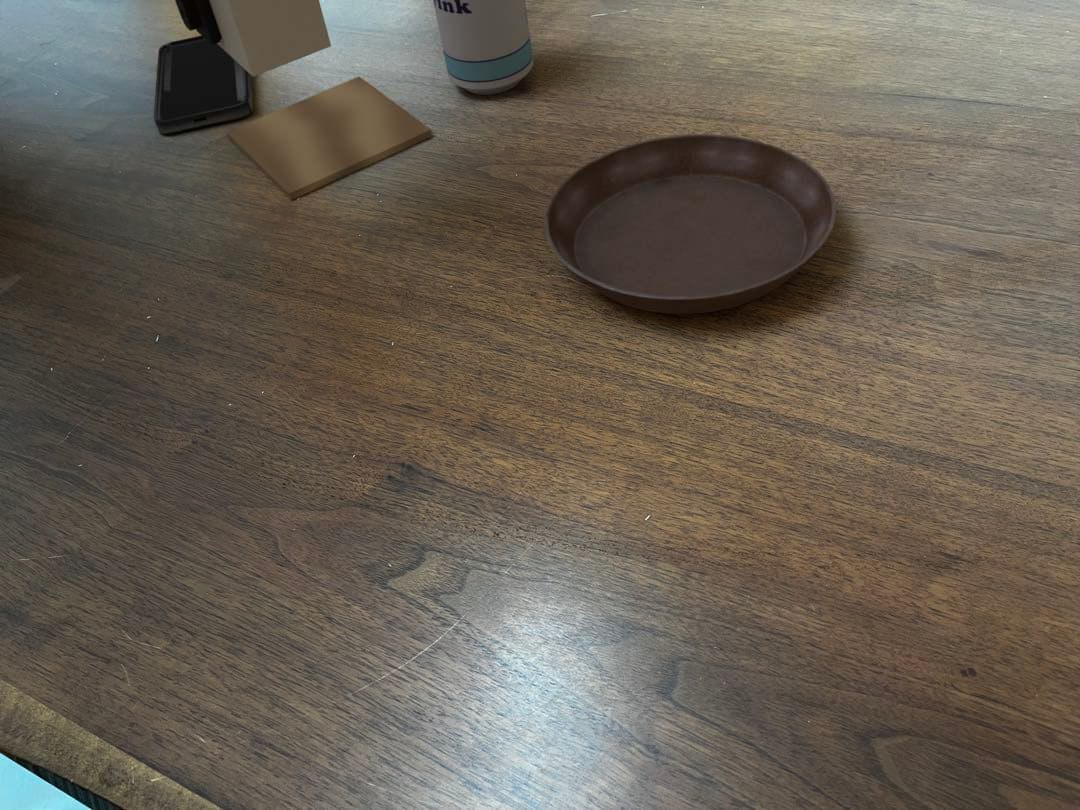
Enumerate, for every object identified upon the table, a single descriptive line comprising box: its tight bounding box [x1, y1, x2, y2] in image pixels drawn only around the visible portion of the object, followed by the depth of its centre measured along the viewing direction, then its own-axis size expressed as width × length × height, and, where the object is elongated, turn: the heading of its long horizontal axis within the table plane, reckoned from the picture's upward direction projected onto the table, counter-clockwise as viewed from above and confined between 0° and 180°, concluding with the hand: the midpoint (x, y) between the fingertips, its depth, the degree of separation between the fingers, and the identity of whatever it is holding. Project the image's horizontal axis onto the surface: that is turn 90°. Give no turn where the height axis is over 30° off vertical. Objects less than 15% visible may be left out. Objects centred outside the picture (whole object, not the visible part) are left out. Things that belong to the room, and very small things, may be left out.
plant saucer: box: [544, 133, 837, 315], centre depth 68 cm, size 18×18×3 cm
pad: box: [226, 76, 433, 201], centre depth 84 cm, size 12×12×1 cm
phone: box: [153, 35, 254, 135], centre depth 93 cm, size 8×1×15 cm
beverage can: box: [432, 0, 534, 96], centre depth 83 cm, size 7×7×12 cm
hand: (253, 16), depth 65 cm, fingers closed on clock, 5 cm apart
